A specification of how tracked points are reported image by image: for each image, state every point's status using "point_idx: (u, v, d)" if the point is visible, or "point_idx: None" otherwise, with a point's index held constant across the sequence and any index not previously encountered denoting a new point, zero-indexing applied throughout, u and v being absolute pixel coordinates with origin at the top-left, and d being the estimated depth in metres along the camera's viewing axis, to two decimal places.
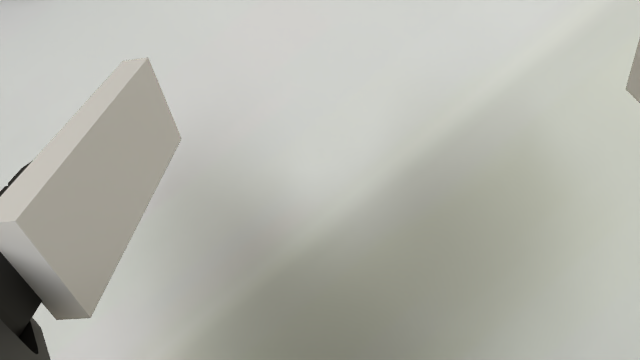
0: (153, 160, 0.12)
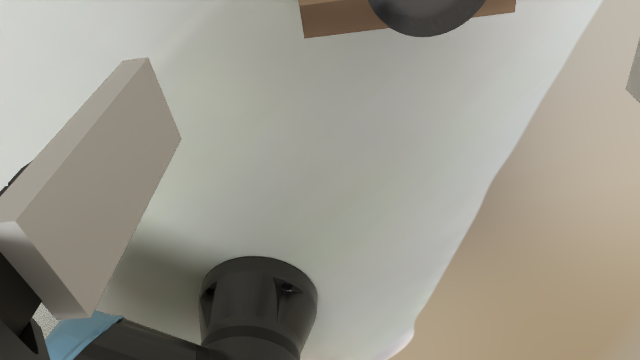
0: (153, 160, 0.12)
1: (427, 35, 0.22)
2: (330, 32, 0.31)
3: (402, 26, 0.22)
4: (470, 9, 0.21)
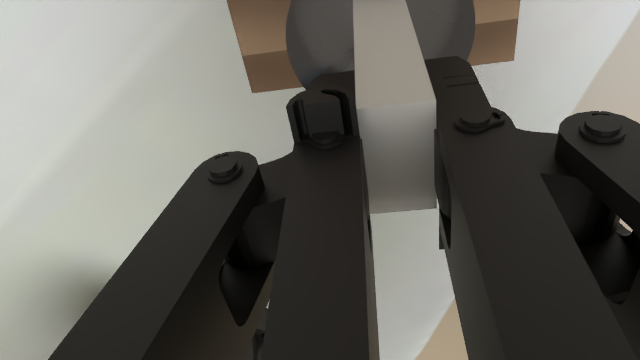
0: None
1: None
2: (283, 86, 0.25)
3: None
4: None
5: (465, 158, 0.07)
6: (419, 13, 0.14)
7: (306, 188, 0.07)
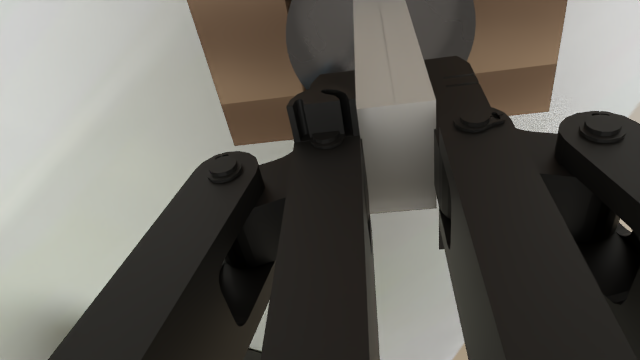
0: None
1: None
2: (271, 138, 0.21)
3: None
4: None
5: (465, 158, 0.07)
6: (419, 13, 0.14)
7: (306, 188, 0.07)
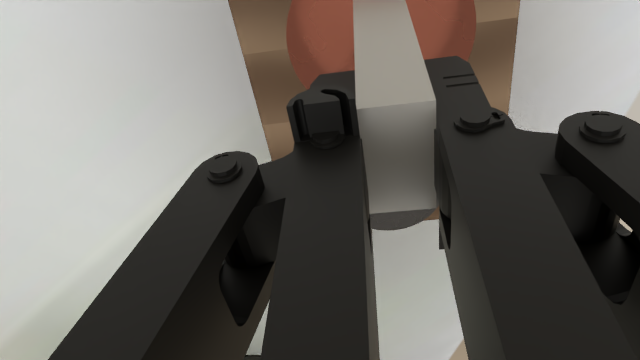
0: None
1: (390, 229, 0.27)
2: None
3: None
4: (423, 214, 0.27)
5: (465, 158, 0.07)
6: None
7: (306, 188, 0.07)
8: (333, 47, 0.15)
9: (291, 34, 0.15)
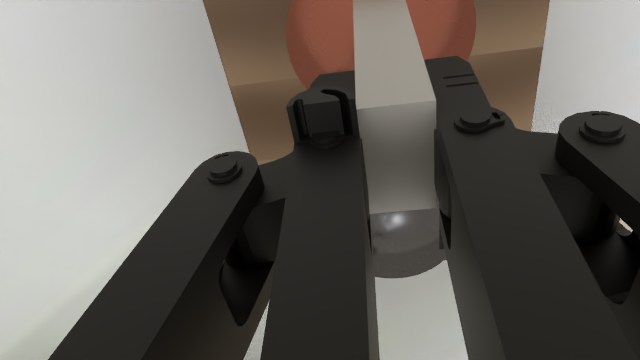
0: None
1: (395, 277, 0.25)
2: None
3: None
4: (432, 262, 0.24)
5: (465, 158, 0.07)
6: (421, 227, 0.22)
7: (306, 188, 0.07)
8: (333, 47, 0.15)
9: (291, 34, 0.15)
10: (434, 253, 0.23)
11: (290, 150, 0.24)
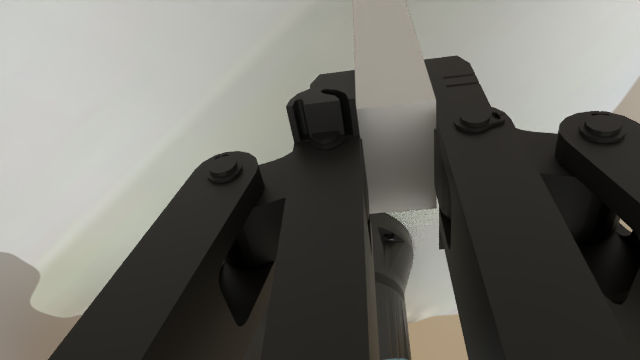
0: None
1: None
2: None
3: None
4: None
5: (465, 158, 0.07)
6: None
7: (306, 188, 0.07)
8: None
9: None
10: None
11: None
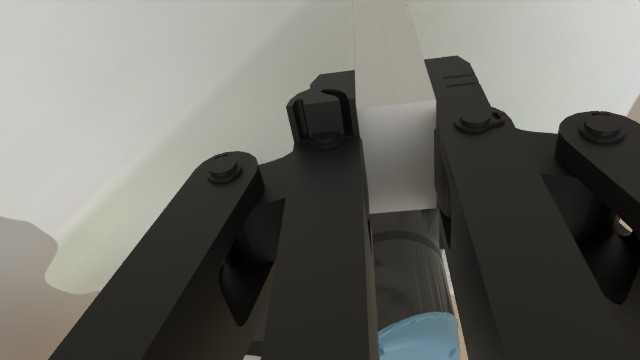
0: None
1: None
2: None
3: None
4: None
5: (465, 158, 0.07)
6: None
7: (306, 188, 0.07)
8: None
9: None
10: None
11: None
